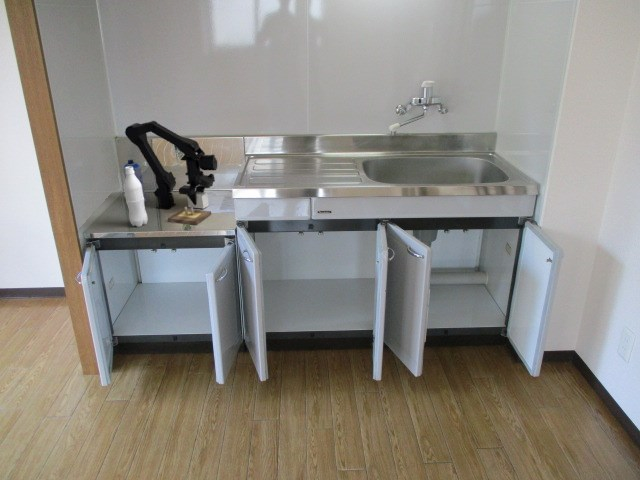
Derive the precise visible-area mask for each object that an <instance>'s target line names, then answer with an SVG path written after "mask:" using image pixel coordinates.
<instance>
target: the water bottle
mask: <svg viewBox="0 0 640 480" xmlns="http://www.w3.org/2000/svg"><path fill="white" fill-rule="evenodd" d="M125 169H126V171H125V172H126V173H125V174H126V179H125V178H124V182H123V187H122V188H123V191H124V196H125V202H126V204H127V207H128V212H129V216H128V217H129V218H128V220H129V222H130V224H131V225H132V226H133V227H135V226H136V227H142V226H143V225H144V226H145V225H147V223H148V213H147V211H146V207H145V202H144V197H143V191H142V185H141V183H140V181H139V180H138V179H137V177H136V176H135V174H134V173H135V172H134V170H133V166H127V167H125Z"/></svg>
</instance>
